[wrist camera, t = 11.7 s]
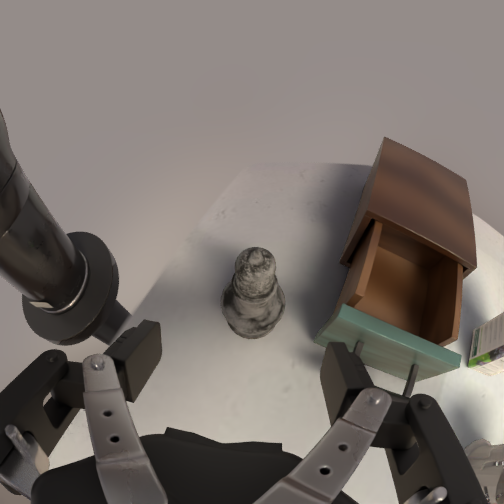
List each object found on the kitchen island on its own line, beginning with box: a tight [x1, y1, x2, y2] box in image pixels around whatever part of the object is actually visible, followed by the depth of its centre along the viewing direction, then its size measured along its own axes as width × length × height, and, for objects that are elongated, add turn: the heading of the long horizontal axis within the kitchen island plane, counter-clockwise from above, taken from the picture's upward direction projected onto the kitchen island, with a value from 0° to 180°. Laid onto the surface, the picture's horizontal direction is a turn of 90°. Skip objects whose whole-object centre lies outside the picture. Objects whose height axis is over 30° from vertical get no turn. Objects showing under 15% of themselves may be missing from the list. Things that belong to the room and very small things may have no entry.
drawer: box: [314, 218, 463, 403], centre depth 23 cm, size 19×12×8 cm, turn 153°
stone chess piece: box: [221, 247, 285, 339], centre depth 22 cm, size 6×6×12 cm
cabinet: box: [339, 137, 477, 279], centre depth 29 cm, size 16×14×10 cm
